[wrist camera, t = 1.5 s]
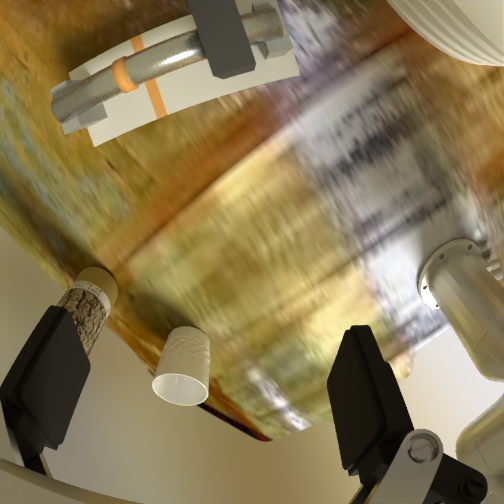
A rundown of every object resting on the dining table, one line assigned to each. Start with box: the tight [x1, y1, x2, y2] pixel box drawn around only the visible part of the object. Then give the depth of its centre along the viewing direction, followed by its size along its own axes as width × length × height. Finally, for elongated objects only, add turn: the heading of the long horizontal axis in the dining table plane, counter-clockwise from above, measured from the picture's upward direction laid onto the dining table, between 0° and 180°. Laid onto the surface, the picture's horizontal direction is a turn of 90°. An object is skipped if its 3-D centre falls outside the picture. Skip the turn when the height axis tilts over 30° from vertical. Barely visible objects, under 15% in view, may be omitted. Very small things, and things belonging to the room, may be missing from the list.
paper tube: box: [57, 267, 118, 357], centre depth 32 cm, size 7×7×25 cm
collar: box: [187, 0, 256, 79], centre depth 20 cm, size 3×7×8 cm, turn 16°
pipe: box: [51, 7, 284, 124], centre depth 22 cm, size 21×3×3 cm, turn 106°
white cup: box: [152, 326, 210, 406], centre depth 44 cm, size 8×8×10 cm
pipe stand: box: [50, 0, 300, 147], centre depth 25 cm, size 24×10×8 cm, turn 106°
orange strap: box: [112, 35, 168, 119], centre depth 24 cm, size 1×10×8 cm, turn 16°
